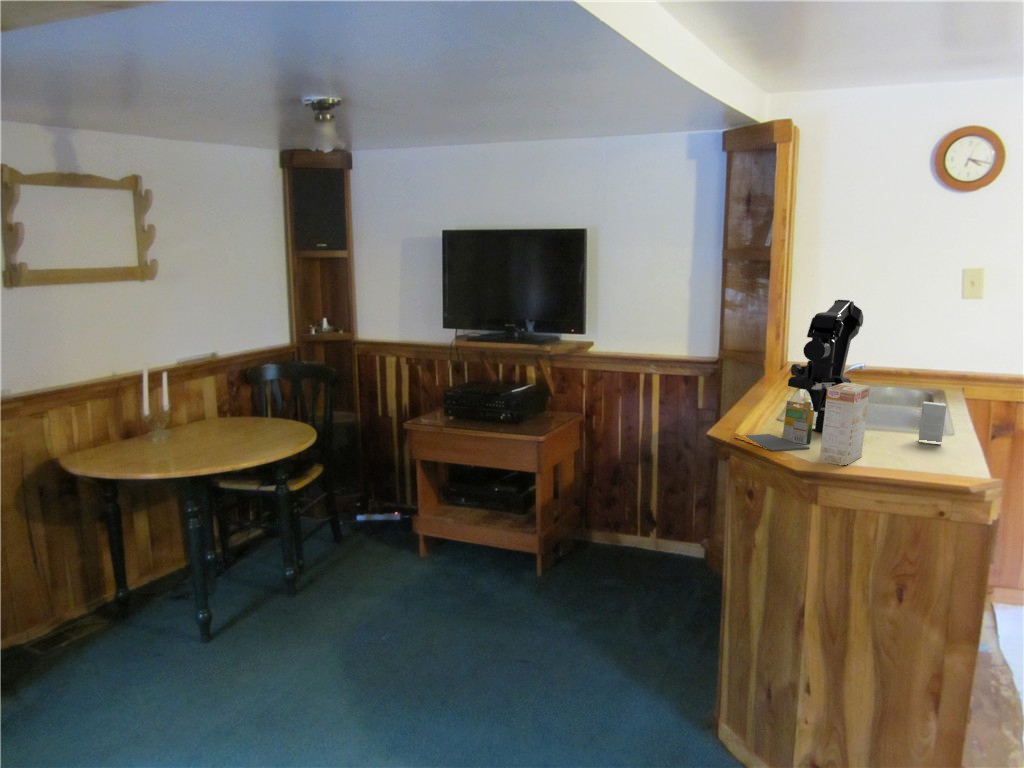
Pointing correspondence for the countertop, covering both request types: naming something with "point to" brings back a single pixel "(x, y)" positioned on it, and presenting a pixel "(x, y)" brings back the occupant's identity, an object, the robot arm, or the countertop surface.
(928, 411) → the skincare box
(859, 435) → the coffeecake box
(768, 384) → the countertop surface
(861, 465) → the countertop surface
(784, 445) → the mat
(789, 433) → the crayon box
